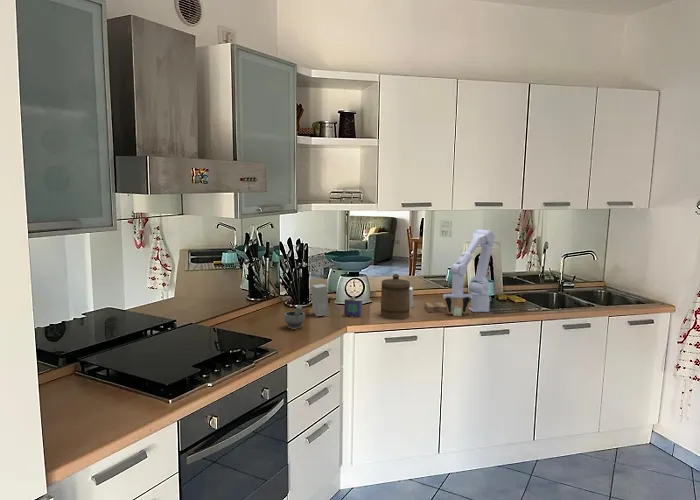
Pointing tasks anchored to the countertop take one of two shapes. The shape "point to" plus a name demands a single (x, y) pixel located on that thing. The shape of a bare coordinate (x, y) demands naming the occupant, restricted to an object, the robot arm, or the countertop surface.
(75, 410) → the countertop surface
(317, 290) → the skincare box
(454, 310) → the cube
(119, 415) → the countertop surface
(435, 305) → the base block
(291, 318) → the mortar and pestle
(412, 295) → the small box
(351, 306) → the flask
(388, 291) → the wooden container
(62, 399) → the countertop surface
